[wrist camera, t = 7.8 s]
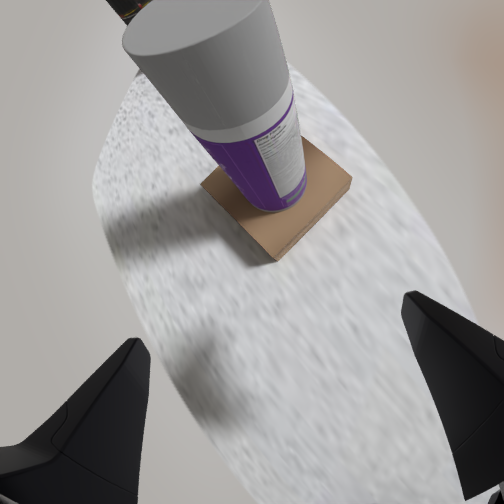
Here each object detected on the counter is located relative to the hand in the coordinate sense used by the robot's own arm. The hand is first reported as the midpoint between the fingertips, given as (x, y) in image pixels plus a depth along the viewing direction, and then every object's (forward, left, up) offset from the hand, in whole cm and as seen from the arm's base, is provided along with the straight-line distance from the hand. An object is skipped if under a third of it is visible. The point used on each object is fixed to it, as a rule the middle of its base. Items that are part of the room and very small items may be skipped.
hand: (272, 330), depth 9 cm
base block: (+8, -5, -13) cm, 16 cm away
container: (+7, -5, -10) cm, 14 cm away
